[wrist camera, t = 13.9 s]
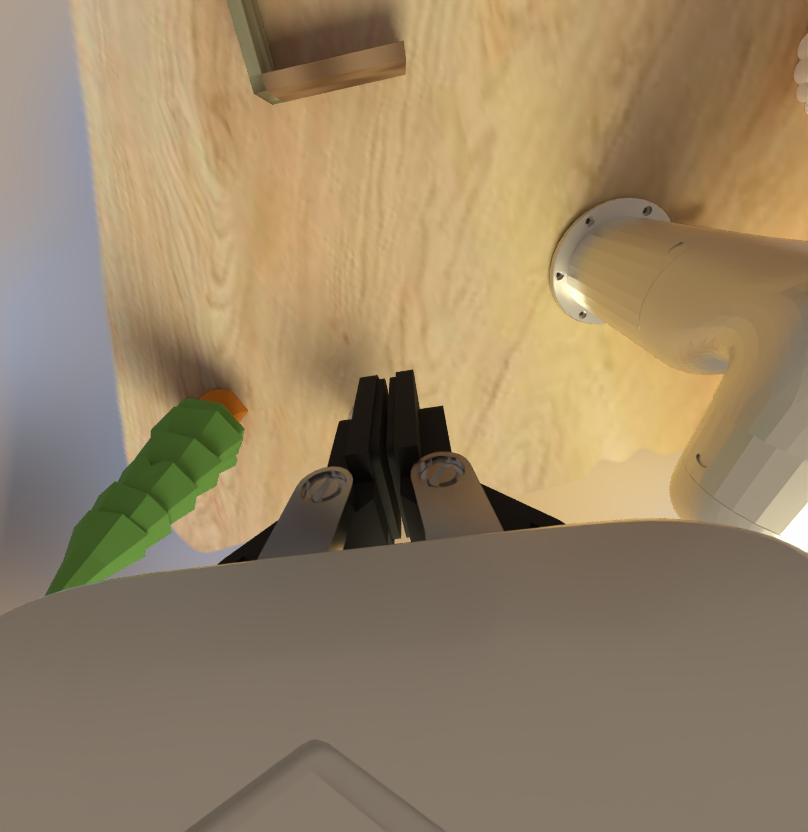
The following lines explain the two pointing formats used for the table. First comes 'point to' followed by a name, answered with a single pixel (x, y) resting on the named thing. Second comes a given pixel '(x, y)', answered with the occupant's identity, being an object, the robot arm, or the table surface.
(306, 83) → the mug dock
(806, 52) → the mooncake
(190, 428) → the decorative tree
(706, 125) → the table surface
